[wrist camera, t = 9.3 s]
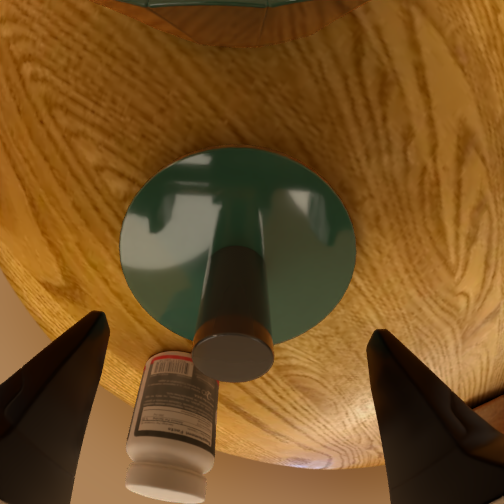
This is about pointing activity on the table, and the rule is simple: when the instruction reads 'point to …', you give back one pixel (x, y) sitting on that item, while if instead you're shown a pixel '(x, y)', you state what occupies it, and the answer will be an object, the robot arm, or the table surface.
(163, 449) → the pill bottle
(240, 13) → the pot
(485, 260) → the table surface
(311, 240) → the lid
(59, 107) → the table surface
